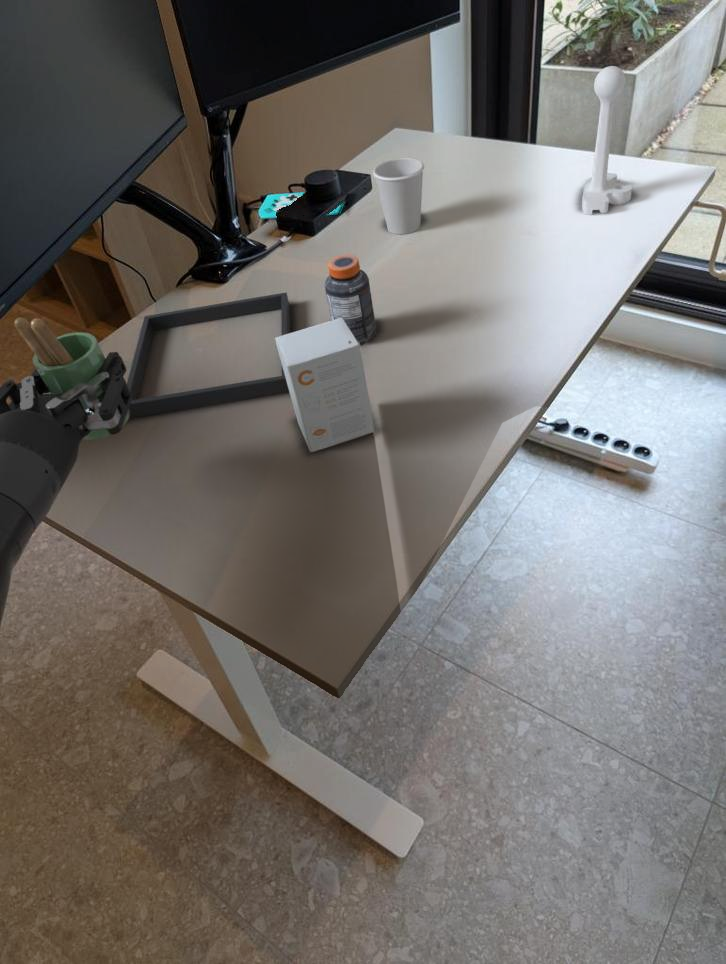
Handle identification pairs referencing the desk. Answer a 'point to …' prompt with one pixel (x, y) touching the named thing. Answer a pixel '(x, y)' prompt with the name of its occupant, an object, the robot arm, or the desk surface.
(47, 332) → the stick
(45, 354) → the stick
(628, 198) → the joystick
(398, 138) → the desk surface
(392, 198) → the dixie cup
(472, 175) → the desk surface
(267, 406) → the desk surface
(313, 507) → the desk surface
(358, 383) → the small box
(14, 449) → the robot arm
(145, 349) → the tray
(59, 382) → the green cup
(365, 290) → the pill bottle
